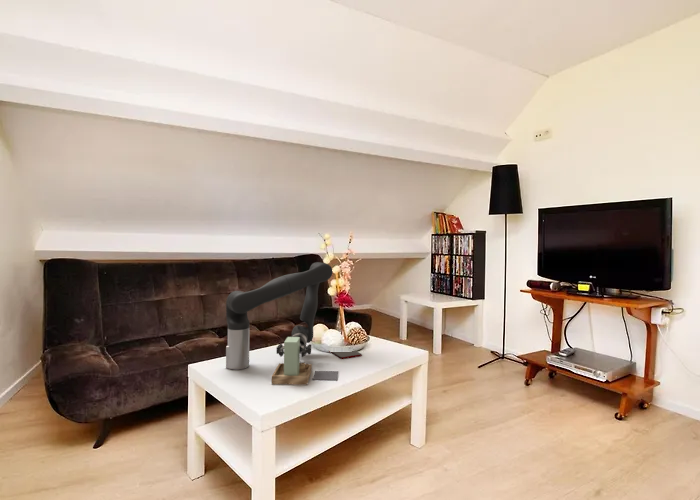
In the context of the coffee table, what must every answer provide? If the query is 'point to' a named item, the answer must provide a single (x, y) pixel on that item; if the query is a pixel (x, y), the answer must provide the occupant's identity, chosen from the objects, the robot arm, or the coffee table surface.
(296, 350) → the green rectangular block
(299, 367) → the offcut upper
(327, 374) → the mat
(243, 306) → the robot arm
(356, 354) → the smartphone
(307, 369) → the wooden tray
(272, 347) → the coffee table surface
